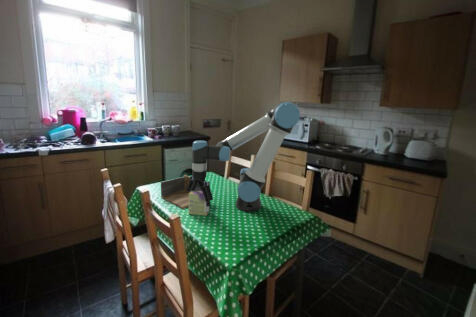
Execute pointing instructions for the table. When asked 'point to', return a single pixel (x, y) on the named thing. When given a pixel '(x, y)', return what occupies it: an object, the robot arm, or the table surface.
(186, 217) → the table surface
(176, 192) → the grey brown open container
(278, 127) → the robot arm
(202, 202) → the box
